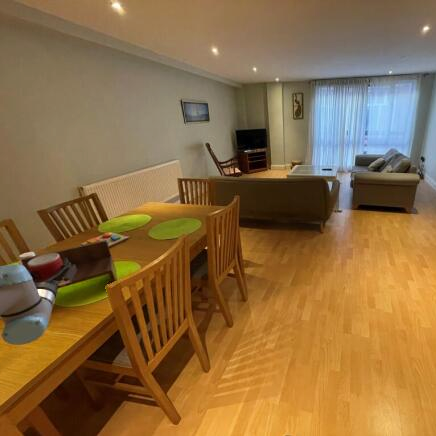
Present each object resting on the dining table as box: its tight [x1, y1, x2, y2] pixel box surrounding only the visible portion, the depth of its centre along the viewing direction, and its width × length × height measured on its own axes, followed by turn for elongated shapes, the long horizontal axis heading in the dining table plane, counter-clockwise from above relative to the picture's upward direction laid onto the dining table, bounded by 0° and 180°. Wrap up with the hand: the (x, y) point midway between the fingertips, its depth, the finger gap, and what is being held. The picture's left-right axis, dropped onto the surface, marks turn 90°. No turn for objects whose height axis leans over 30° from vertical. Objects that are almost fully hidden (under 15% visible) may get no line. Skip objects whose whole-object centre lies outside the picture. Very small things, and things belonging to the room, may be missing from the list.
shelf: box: [20, 240, 118, 289], centre depth 102 cm, size 28×16×17 cm, turn 126°
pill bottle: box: [17, 251, 36, 265], centre depth 110 cm, size 8×7×14 cm
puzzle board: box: [80, 231, 130, 248], centre depth 146 cm, size 18×19×4 cm
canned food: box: [28, 252, 66, 289], centre depth 84 cm, size 8×8×11 cm
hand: (51, 264), depth 88 cm, fingers closed on canned food, 8 cm apart
